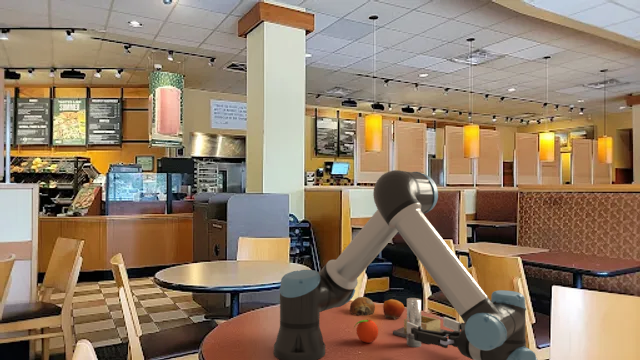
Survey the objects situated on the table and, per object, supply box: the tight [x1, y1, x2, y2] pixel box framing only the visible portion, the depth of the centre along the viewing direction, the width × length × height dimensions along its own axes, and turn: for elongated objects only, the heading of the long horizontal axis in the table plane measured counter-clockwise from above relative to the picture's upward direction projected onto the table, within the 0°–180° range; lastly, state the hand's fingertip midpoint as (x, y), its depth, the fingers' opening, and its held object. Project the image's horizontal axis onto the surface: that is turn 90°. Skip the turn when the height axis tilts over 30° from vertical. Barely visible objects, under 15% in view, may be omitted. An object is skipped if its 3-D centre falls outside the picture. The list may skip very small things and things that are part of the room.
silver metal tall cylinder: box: [406, 297, 422, 348], centre depth 138 cm, size 5×5×14 cm
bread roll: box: [349, 296, 376, 317], centre depth 177 cm, size 10×10×8 cm
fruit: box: [382, 298, 405, 320], centre depth 169 cm, size 8×8×8 cm
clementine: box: [353, 319, 379, 344], centre depth 140 cm, size 8×7×7 cm
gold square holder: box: [392, 314, 448, 345], centre depth 149 cm, size 14×14×5 cm
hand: (426, 323), depth 133 cm, fingers open, 13 cm apart
